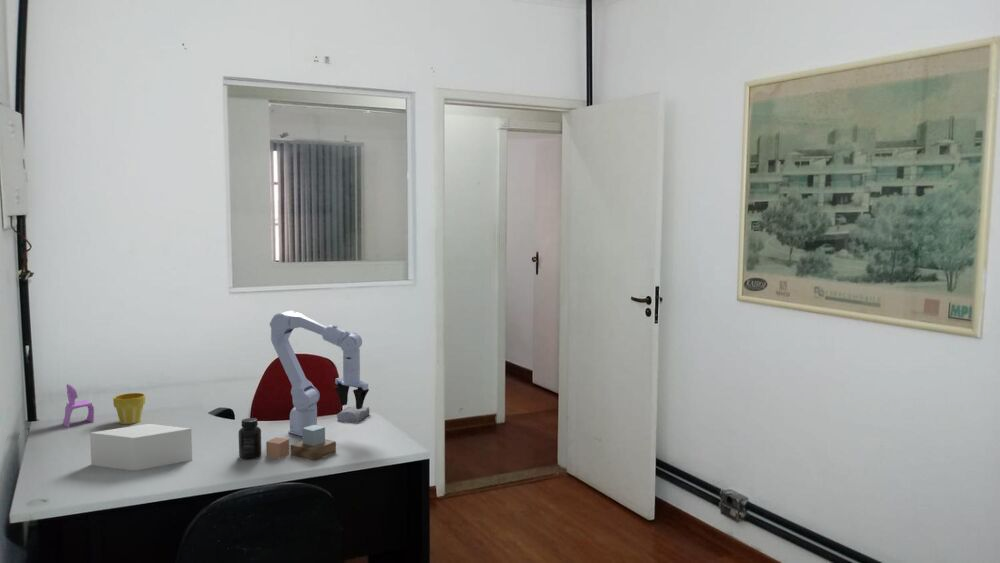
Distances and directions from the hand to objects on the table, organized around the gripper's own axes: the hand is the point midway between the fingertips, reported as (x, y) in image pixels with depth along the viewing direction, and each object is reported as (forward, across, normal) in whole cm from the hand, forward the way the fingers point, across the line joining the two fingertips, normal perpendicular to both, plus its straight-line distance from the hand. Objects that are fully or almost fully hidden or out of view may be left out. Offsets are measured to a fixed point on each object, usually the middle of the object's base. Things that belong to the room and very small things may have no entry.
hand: (351, 406), depth 244 cm
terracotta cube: (+10, -4, -28) cm, 30 cm away
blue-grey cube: (+7, +4, -20) cm, 22 cm away
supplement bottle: (+11, -10, -34) cm, 37 cm away
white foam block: (+11, -32, -58) cm, 67 cm away
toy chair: (+11, -90, -50) cm, 103 cm away
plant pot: (+10, -77, -38) cm, 86 cm away
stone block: (+11, -17, +16) cm, 26 cm away
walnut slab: (+11, +4, -20) cm, 24 cm away
